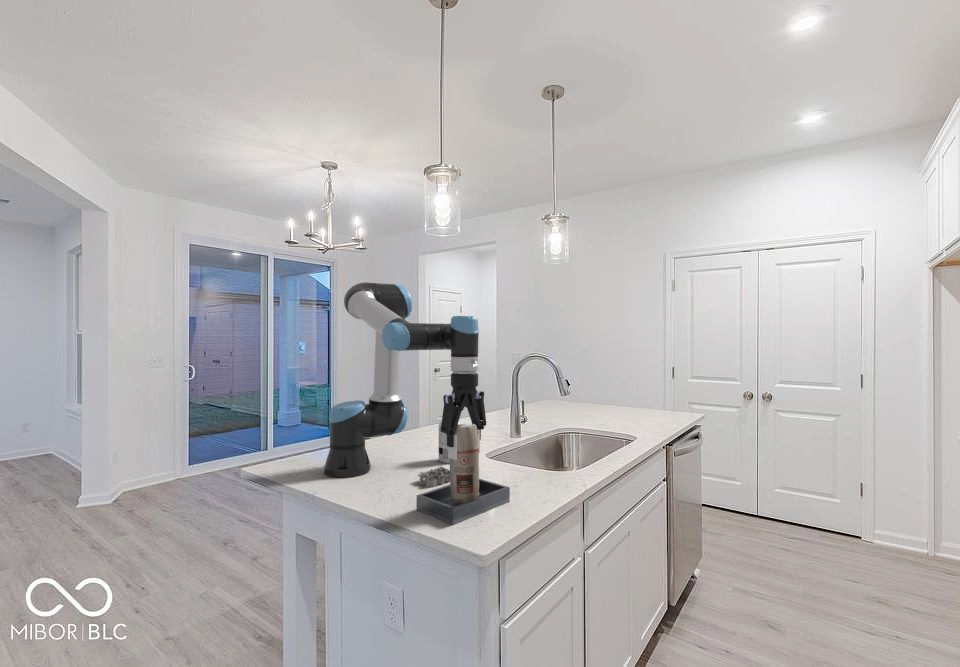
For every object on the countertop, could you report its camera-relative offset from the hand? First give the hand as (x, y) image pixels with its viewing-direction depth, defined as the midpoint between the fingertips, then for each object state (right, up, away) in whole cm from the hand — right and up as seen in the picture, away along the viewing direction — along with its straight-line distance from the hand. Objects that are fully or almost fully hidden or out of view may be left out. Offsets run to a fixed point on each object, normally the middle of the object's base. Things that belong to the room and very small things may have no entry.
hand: (464, 455), depth 127 cm
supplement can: (-7, -14, +46) cm, 48 cm away
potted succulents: (-10, -14, +21) cm, 27 cm away
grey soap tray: (0, -14, 0) cm, 14 cm away
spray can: (0, -11, 0) cm, 11 cm away
